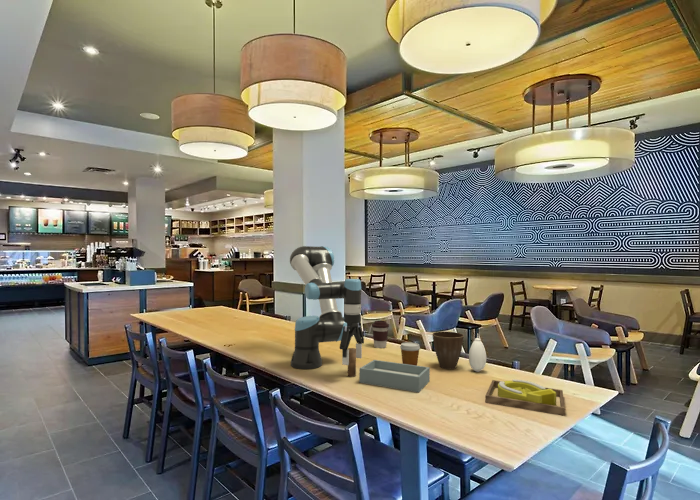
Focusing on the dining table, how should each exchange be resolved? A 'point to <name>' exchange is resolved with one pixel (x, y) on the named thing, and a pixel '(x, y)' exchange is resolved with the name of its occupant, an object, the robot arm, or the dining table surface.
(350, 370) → the dowel
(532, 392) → the yellow-green curved block
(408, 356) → the disposable coffee cup
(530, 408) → the brown wooden frame
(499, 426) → the dining table surface
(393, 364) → the tray
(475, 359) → the white bulb air blower
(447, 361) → the plant pot
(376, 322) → the coffee cup
